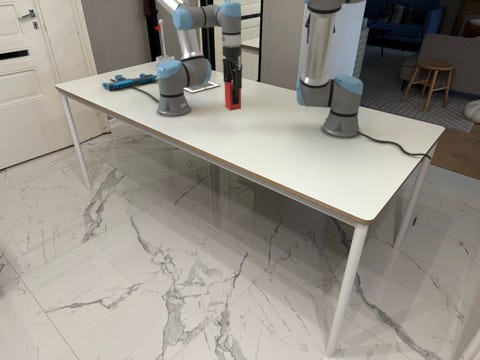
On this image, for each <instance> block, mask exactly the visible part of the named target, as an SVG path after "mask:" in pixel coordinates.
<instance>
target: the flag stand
mask: <svg viewBox="0 0 480 360" xmlns="http://www.w3.org/2000/svg"><path fill="white" fill-rule="evenodd" d="M154 29H155V30H157V31H159V32H161V33H160V34H161V40H162V49H163V55H159V56H156V58H155V60H156V63H157V64H158V65H159V64H161V63H163V62H166V61H173V60H176V57H175V56H174V55H171V56H170V55H167V50H166V41H165V32H164V20H163V19H162V18H161V19H159V20H158V25H157V26H155V27H154Z"/></svg>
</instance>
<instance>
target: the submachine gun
mask: <svg viewBox="0 0 480 360" xmlns="http://www.w3.org/2000/svg"><path fill="white" fill-rule="evenodd" d="M156 79H158V78H157V74H156V75H155V74H152V73H150V74H146V73H140V74H139V77H134V78H126V77H123V75H122V74H117V75H114V80H116V81H117V82H114V81H112V82H102V83H101V85H102V87H103V88H105V89H106V90H107V91H109V90H113V91H114V90H115V89H116V90H118V89H119V90H122V88H126V87H128V86H134V85H140V84H144V83H149V82H151V83H152V82H155V81H154V80H156Z"/></svg>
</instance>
